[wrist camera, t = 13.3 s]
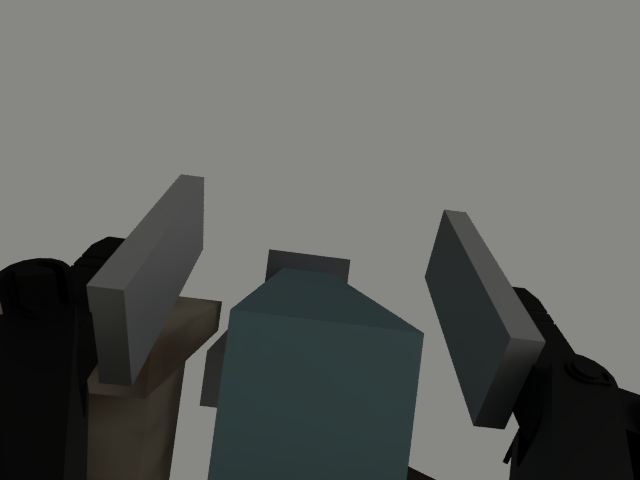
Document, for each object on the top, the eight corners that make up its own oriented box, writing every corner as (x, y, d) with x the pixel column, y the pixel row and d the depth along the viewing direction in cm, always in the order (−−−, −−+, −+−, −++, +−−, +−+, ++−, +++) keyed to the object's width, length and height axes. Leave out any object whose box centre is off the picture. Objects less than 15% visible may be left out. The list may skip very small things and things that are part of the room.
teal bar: (136, 501, 7) (173, 236, 7) (265, 307, 32) (273, 249, 32) (464, 537, 7) (494, 277, 7) (336, 315, 32) (344, 258, 32)
